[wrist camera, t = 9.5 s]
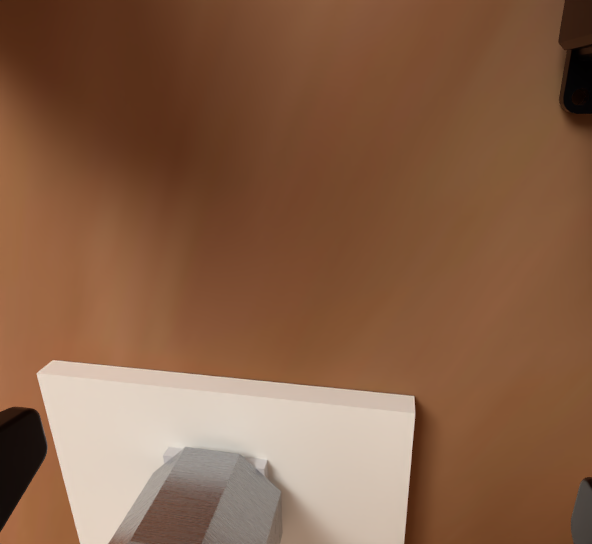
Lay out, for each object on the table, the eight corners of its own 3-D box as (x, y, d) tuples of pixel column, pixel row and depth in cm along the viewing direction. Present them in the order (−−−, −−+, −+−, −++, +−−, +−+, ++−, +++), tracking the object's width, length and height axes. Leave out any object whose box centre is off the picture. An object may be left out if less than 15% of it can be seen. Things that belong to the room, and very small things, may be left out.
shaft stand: (414, 396, 21) (421, 526, 14) (398, 585, 25) (398, 746, 19) (53, 360, 24) (-65, 452, 18) (94, 531, 28) (10, 654, 22)
